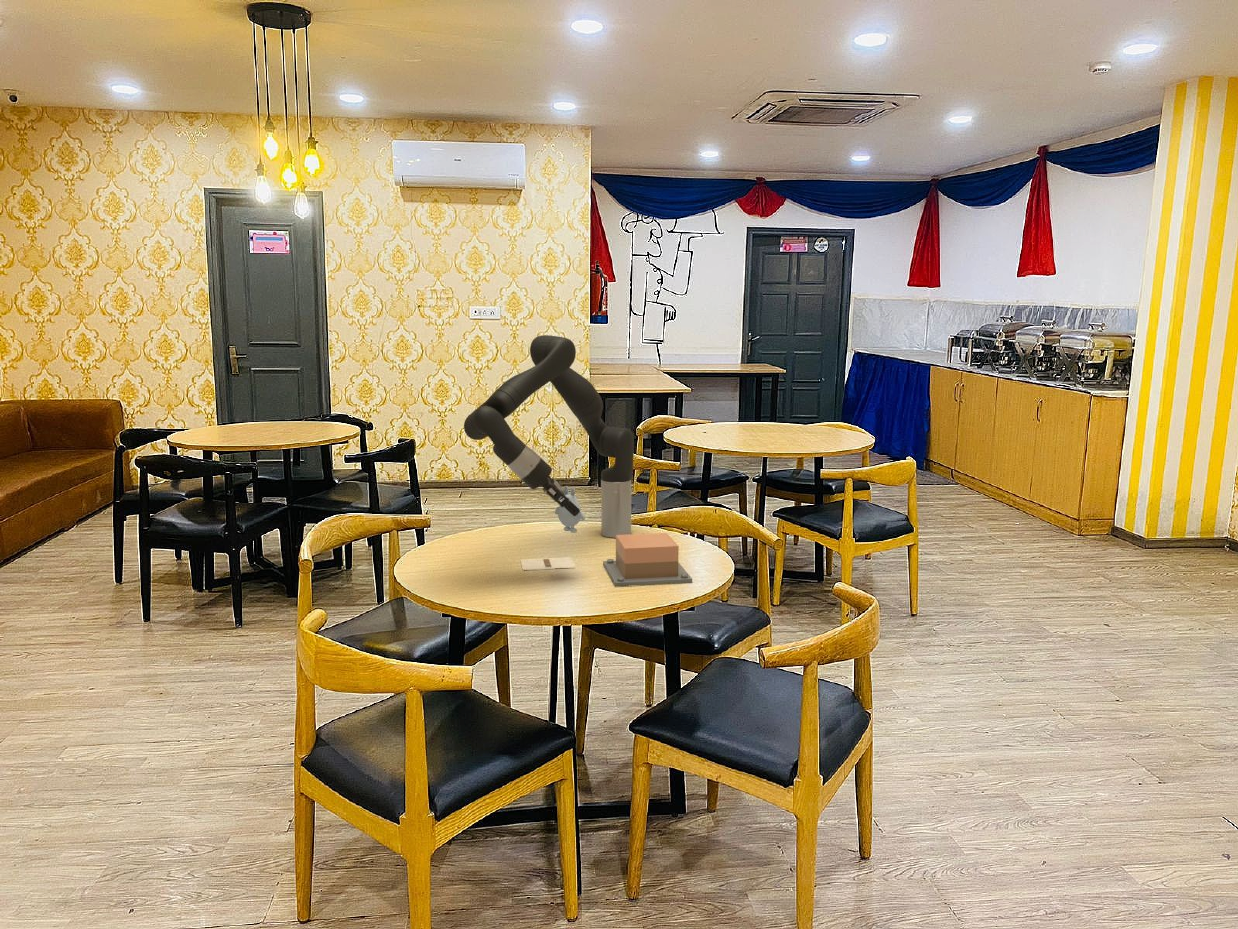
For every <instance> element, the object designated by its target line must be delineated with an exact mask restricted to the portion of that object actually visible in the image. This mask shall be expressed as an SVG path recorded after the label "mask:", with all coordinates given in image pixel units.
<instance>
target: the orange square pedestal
mask: <svg viewBox="0 0 1238 929" xmlns="http://www.w3.org/2000/svg"><path fill="white" fill-rule="evenodd" d="M679 548H680V547H679V545H678V544H677V542H676V541H674V539H673V538H672V537H671V535H669V534H668V533H667V532H654V533H631V534H627V535H616V538H615V559H613V558H607V559H606V560H604V561H602V565H603V568H604V569H605V571H606V573H607V572H608V573H607V575H608V576H609V579H610V580H611V582H612V583H613V585H615V586H614V587H615V588H617V587H616V586H621V587H632V586H631V585H640V586H656V585H655V584H659V585H666V584H665V583H669V584H668V585H675V583H677V584H693V578H692V577H691V575H690V574H689V573H688V572H687V570H685V568H684V566H682V564H680V562H679V554H680V553H679V551H680V550H679ZM670 583H672V584H670ZM629 585H630V586H629Z"/></svg>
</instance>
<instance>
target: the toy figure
mask: <svg viewBox="0 0 1238 929" xmlns="http://www.w3.org/2000/svg"><path fill="white" fill-rule="evenodd" d="M563 489H564V491H565V494H566V495H565V496H566V497H567V498H569V499H570V501H571V502H572V503H573V504H574V505H575V506H576V507H577V508H579V510H580V512H579V513H578V514H577V515H576V516H573V515H572V514H571V513H570V512H569V511H568V510H567V509H566V508H564V507H561V506H560V505H558V506H557V507H555V510H554V514H555V515H557V516H558V517H557V518H558V520H559V522H560V523H561V524H562V525H563V526H564V527H563V530H564V532H570V533H571V534H573V533H574V534H576V533H577V532H578V529H577V528H575V526H577V525H578V524H579V523H580V521H581V520H582V521H585V520H586V517H585V514H584V512H583V511H582V507H581V505H580V502H579V500H578V498H577V497H576V495H575V494H576V488H575V487H571V489H570V491H569V486H567V485H565V486H564V488H563ZM561 500H562V501H563V500H564V498H563V499H561ZM561 500H560V501H561ZM562 501H561V502H562Z"/></svg>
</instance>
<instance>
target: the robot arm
mask: <svg viewBox="0 0 1238 929" xmlns="http://www.w3.org/2000/svg"><path fill="white" fill-rule="evenodd" d="M529 346H530V347H529V353H530V355H529V356H530V358H531V361H532V363H533V365H534V366H532V367H530V368H529V369H526V370H524V371H521V373H517V374H515V375H514V376H512V377H510V378H509V379H507V380H506V381H504V383H503V384H501V385H500V386H499V387H498V388H497V389H496V390H495V391H493V393H492V394H491V395H490V396H489V397H488V399H486V401H484V402H482V404H481V405H479V406H478V407H477V408H475V410H473V411H472V412H471V413H470V414H468V416H467V417H466V418H465V420H464V422H463V430H464V432H465V434H466V435H467V437H468V438H470V439H471V440H476V441H481V440H484V439H486V438H487V437H488V438H489V439H490V441H491V442H492V443H493V447H492V451H493V453H494V454H495V455H496V457H497V458H498V459H500V460H501V461H502V462H503V463H504V464H505V465H506V466H507V467H508V469H510V470H511V472H512V473H513V474H514V475H515V476H517V477H518V478H519V479H520V480H521V481H522V482H523V483H524V484H525V485H526V486H527V487H528V488H529V489H531V490H536V489H538V488H539V487H540V486H541V487H542V490H543V493H545V495H547V496H549V497H550V498H551V499H552V501H554V502H555V503H557V504H558V506H561V507H564V508H566V509H567V510H568V511H569V512H570V513H571V514H572V515H573V516H576V515H577V514H578V513H579V512H580V510H579V508H577V507H576V506H575V505H574V504H573V503H572V502H571V501H570V499H569V498H567V497H566V496H565V495H566V494H565V491H564V488H563V487H562V485H561V484H559V483H558V481H557V480H556V479H555V478H554V477H551V474H552V471H553V468H552V466H551V465H549V464H548V463H547V462H546V461H545V460H544V459H543V458H542V457H540V455H539V454H538V453H537V452H535V451H534V450H533V449H532V448H530V447H529V445H527V444H525V443H524V441H522V440H521V439H520V438H519V437H518V436H517V435H516V434H515V433H514V432H513V430H512V429H511V427H510V425H509V424H508V422H507V421H506V420H505V419H506V418H507V417H509V416H510V415H512V414H513V413H514V412H515V411H516V410H517V409H518V408H519V407H520V406H521V405H522V404H523V403H524V402H525V401H526V400H528V399H529V397H531V396H532V395H533V394H535V392H538V391H539V389H541V388H542V387H545V385H547V384H549V383H551V385H552V386H553V387H554V388H555V390H556V391H557V393H558V394H559V395H560V396H561V398H562V399H563V401H564V402H565V404H566V405H567V407H568V408H569V410H570V411H571V413H573V415H574V416H575V418H577V420H578V421H579V423H580V424H581V426H582V428H583V429H584V430H585V432H586V434H587V436H588V437H589V439H590V441H591V443H592V445H593V447H594V449H595V450H596V452H597V453H598V454H599V455H600V456H602V457H606V458H614V465H612V466H611V467H607V468H604V469H602V470H601V473H600V490H601V491H600V496H601V497H600V498H601V499H600V500H601V501H600V508H601V509H600V511H601V514H600V518H601V521H600V522H601V523H600V525H601V528H600V529H601V530H600V532H601V535H602V536H603V537H606V538H615V539H616V535H627V534H632V473H633V469H634V454H635V452H634V450H635V438H634V437H635V436H634V434H633V432H632V431H631V429H629V428H626V427H617V426H609V425H607V424H606V423H605V422H604V420H603V419H602V414H603V410H604V409H603V408H604V403H603V400H602V397H601V395H600V393H599V392H598V391H597V389H596V388H595V386H594V385H593V384H592V383H591V382H590V380H588V379H587V378H585V377H584V376H582V375H581V374H580V373H579V372H577V371H575V370H574V369H573V368H571V367H572V365H573V363H574V362H575V359H576V355H577V352H576V351H577V350H576V346H575V344H574V342H573V341H572V340H571V339H569V338H567V337H564V336H556V335H550V334H549V335H548V334H542V335H538V336H535V337H534V339H532V341H531V343H530V345H529ZM563 498H564V500H563V501H562V499H563ZM561 501H562V502H561Z"/></svg>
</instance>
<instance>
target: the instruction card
mask: <svg viewBox="0 0 1238 929" xmlns="http://www.w3.org/2000/svg"><path fill="white" fill-rule="evenodd" d="M520 564H521V568H522V571H523V572H525V571H524V570H531V571H543V570H542V569H551V570H556V569H555V568H571V569H576V566H575V564H574V561H573V559H572V557H571V556H567V557H566V556H565V557H564V556H563V557H551V558H549V557H547V558H528V559H526V558H525V559H520Z"/></svg>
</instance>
